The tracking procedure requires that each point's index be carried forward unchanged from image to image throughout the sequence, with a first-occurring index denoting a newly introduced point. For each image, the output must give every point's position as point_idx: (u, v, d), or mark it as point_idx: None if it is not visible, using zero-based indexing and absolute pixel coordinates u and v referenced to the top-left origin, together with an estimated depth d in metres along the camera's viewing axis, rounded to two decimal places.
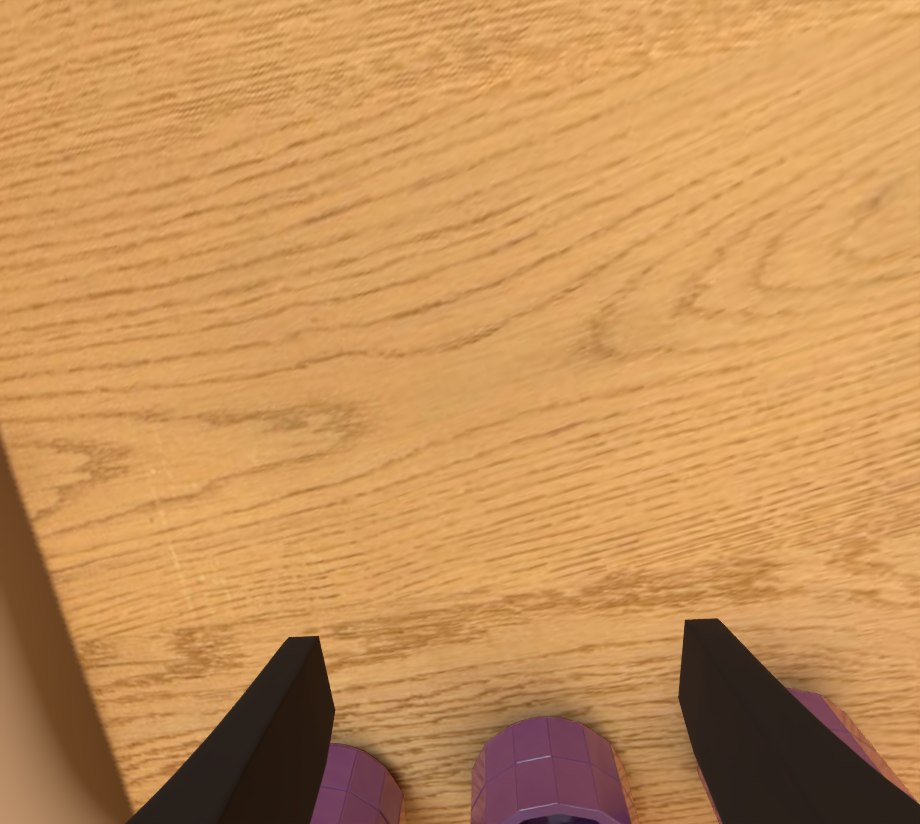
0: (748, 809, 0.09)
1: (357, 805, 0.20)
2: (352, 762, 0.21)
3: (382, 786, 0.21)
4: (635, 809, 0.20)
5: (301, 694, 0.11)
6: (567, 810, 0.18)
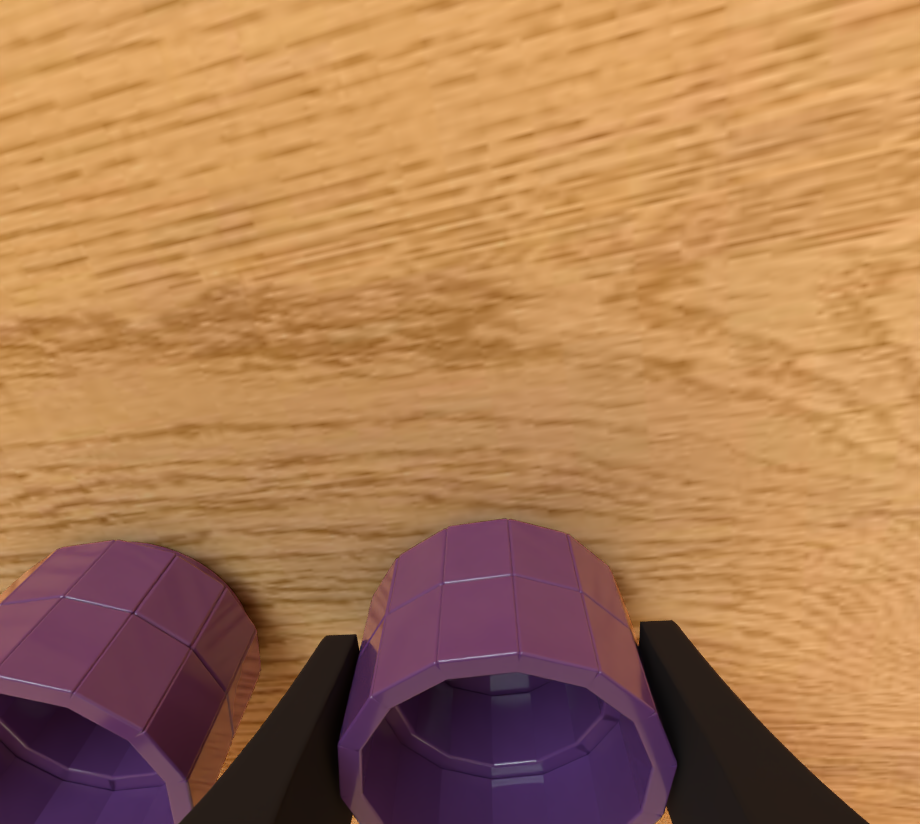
0: (693, 811, 0.09)
1: None
2: None
3: None
4: (223, 692, 0.11)
5: (342, 693, 0.11)
6: (8, 688, 0.09)
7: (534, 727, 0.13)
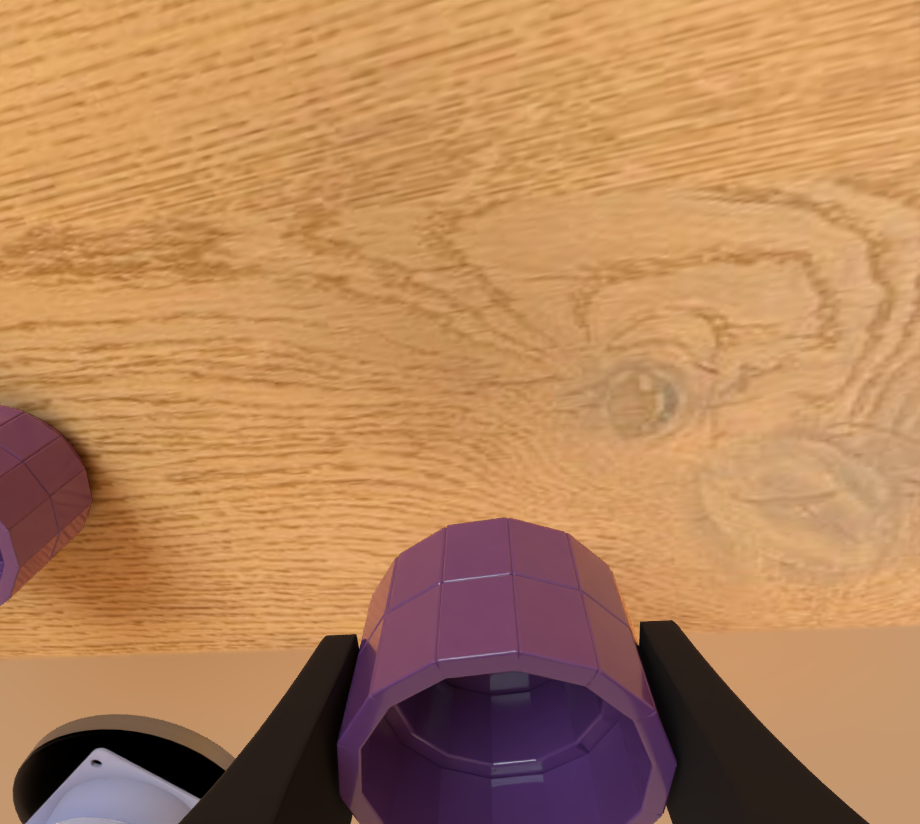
0: (693, 810, 0.09)
1: None
2: None
3: None
4: (47, 494, 0.18)
5: (342, 692, 0.11)
6: None
7: (534, 726, 0.13)
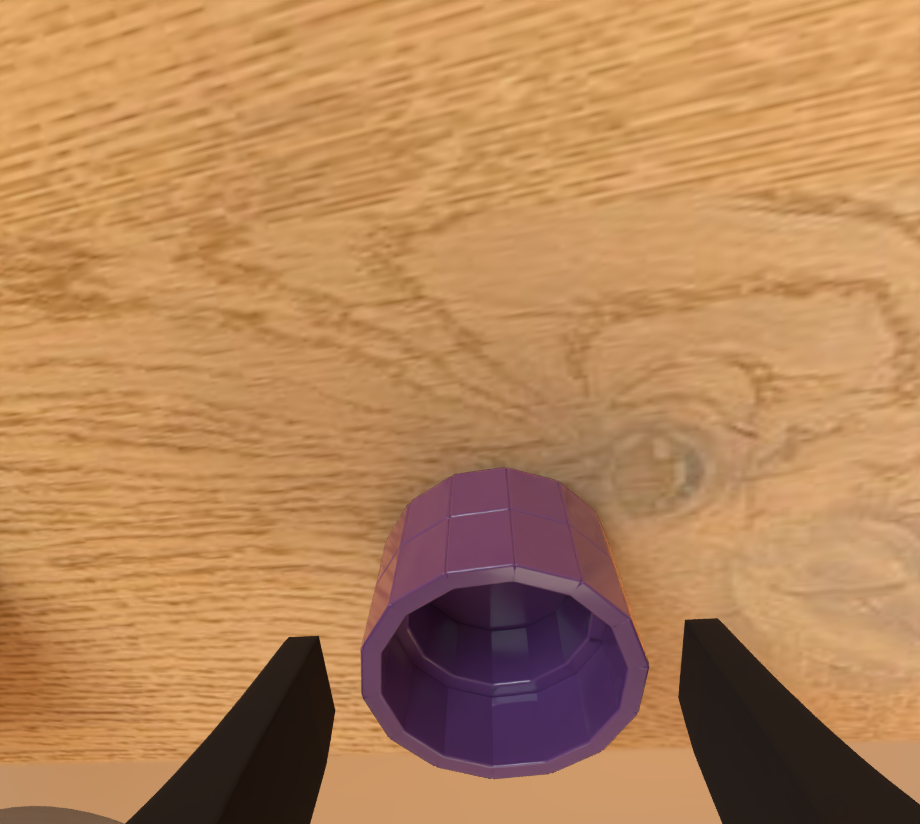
0: (748, 809, 0.09)
1: None
2: None
3: None
4: None
5: (301, 694, 0.11)
6: None
7: (529, 654, 0.14)
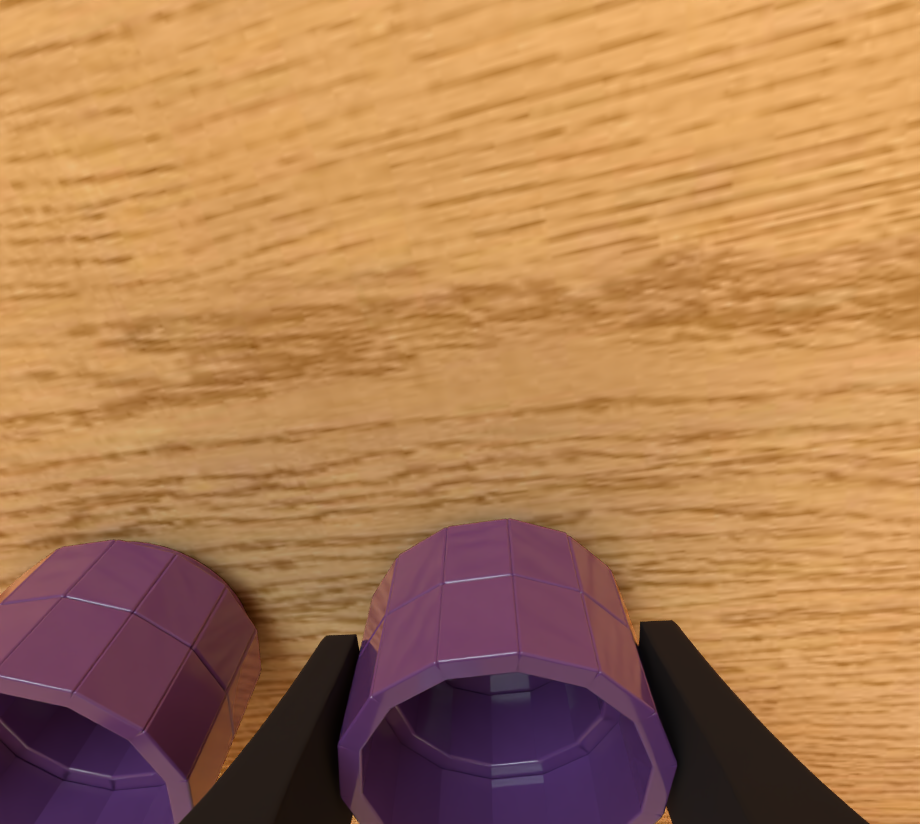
0: (693, 810, 0.09)
1: (147, 637, 0.11)
2: (159, 569, 0.12)
3: (212, 612, 0.12)
4: (648, 675, 0.11)
5: (342, 692, 0.11)
6: (535, 667, 0.09)
7: None
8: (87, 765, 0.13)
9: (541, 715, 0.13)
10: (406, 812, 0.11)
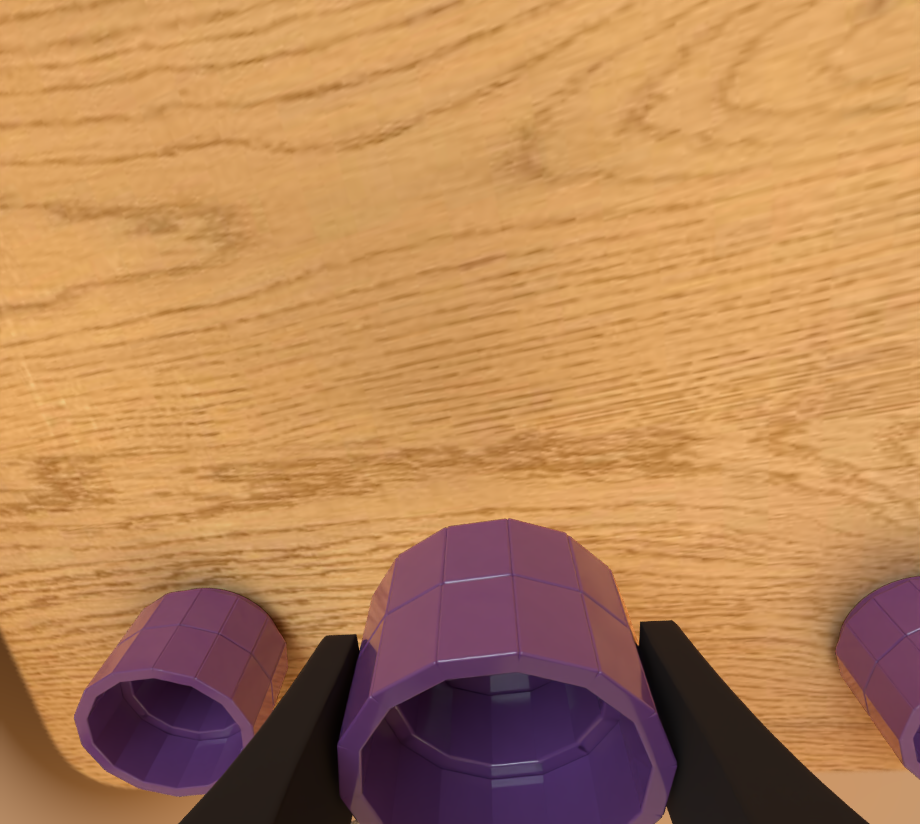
0: (693, 810, 0.09)
1: (227, 648, 0.19)
2: (230, 607, 0.20)
3: (260, 632, 0.20)
4: (648, 676, 0.11)
5: (342, 692, 0.11)
6: (534, 667, 0.09)
7: None
8: (183, 725, 0.21)
9: (541, 715, 0.13)
10: (406, 812, 0.11)
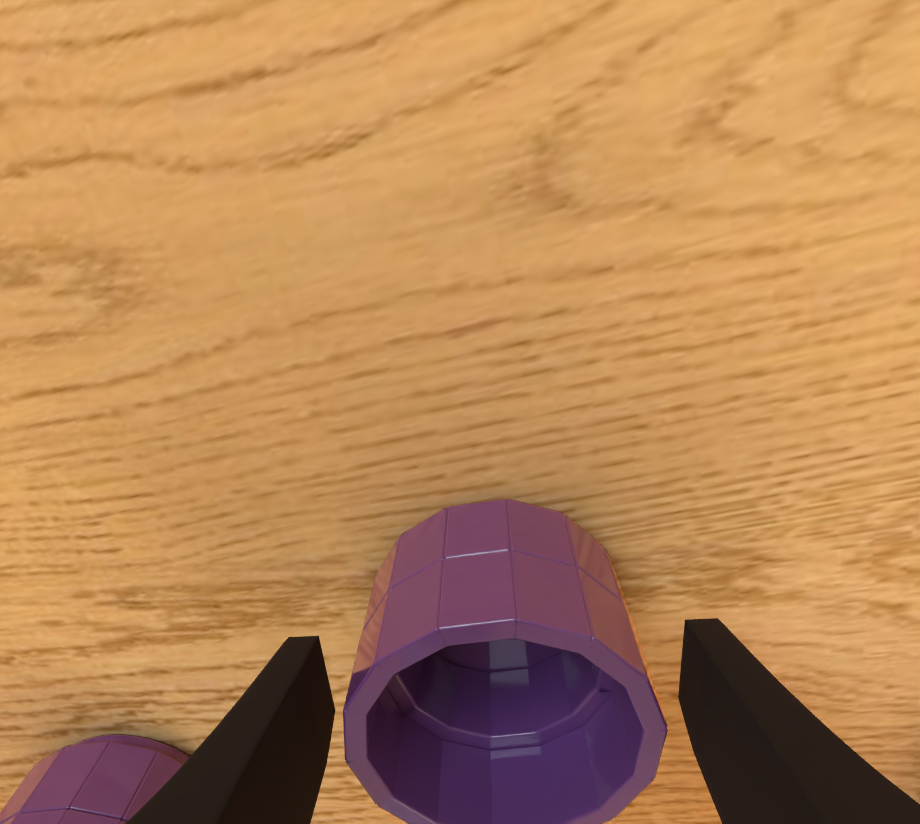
0: (748, 809, 0.09)
1: None
2: (143, 770, 0.15)
3: None
4: (641, 648, 0.11)
5: (301, 694, 0.11)
6: (531, 633, 0.09)
7: None
8: None
9: (538, 690, 0.13)
10: (408, 778, 0.11)
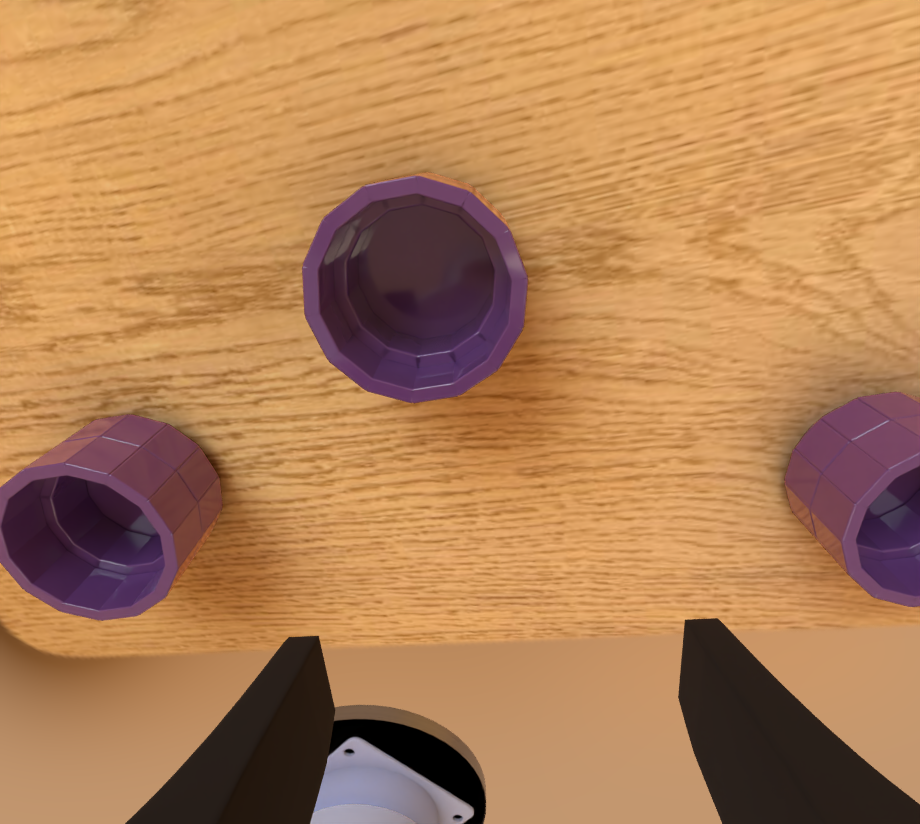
0: (748, 809, 0.09)
1: (150, 459, 0.18)
2: (157, 430, 0.19)
3: (189, 457, 0.19)
4: None
5: (301, 694, 0.11)
6: (427, 186, 0.14)
7: (897, 532, 0.20)
8: (111, 559, 0.20)
9: (457, 336, 0.18)
10: (352, 353, 0.16)
